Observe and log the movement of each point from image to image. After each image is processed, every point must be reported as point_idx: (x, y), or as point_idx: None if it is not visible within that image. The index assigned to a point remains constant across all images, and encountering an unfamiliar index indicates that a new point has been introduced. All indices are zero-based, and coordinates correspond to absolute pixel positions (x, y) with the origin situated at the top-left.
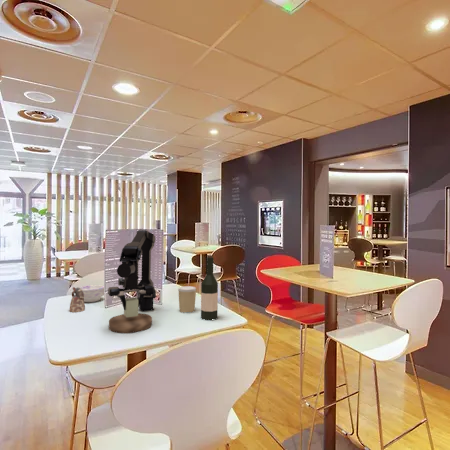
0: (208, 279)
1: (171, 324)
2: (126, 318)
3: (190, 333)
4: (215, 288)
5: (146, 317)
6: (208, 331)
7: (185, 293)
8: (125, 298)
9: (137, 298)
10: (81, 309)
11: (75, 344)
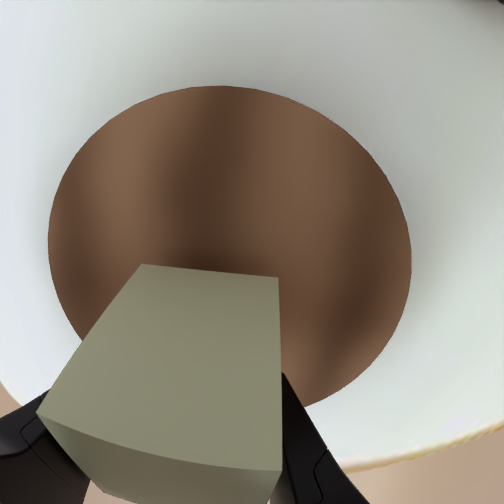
0: None
1: (443, 358)
2: (178, 264)
3: (403, 448)
4: None
5: (354, 327)
6: (448, 442)
7: None
8: (56, 424)
9: (285, 495)
10: None
11: (7, 347)
